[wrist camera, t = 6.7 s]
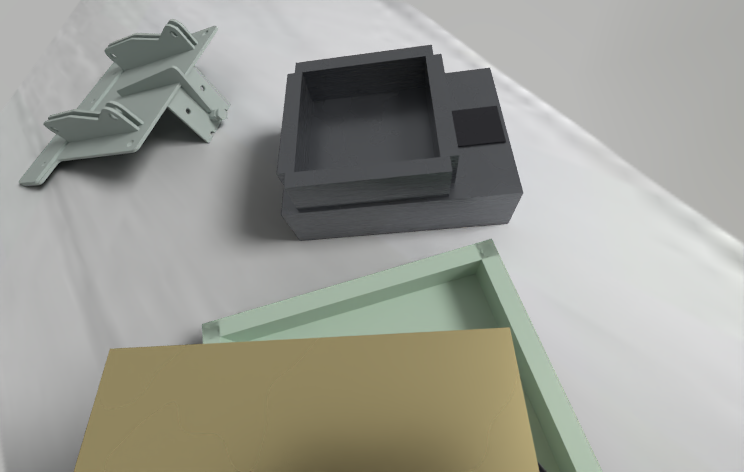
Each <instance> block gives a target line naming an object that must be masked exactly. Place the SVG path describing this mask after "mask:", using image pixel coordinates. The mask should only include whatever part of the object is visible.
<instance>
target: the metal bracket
mask: <svg viewBox="0 0 744 472" xmlns="http://www.w3.org/2000/svg"><path fill="white" fill-rule="evenodd" d="M177 27H178V28H179V29H180V30H179V29H178V28H177ZM217 30H218V28H217V27H216V26H213V27H210V28H207V29H204V30H201V31H198V32H195V33H193V34H191V33H190V32H189V31H188V30H187V29H186V28H185V26H184V25H183V24H182V23H180V22H179V21H177V20H174V19H171V20H169V22H168V23H167V25H166V26H165V27H164V29H163V31H162V33H161V34H149V33H135V34H133V35H130V36H128V37H125V38H122V39H120V40H117V41H115V42H112V43H110V44H109V45H108V47H107V48H106V49H105V53H106V55H107V56H108V57H109V58H110V59H111V60H112V61H114V63H113V64H112V65H111V67H110V68H109V69H108V70H107V72H106V73H105V74H104V75H103V77H102V78H101V79H100V80H99V82H98V83H97V84H96V85H95V87H94V88H93V89H92V90H91V92H90V93H89V94H88V95H87V96H86V98H85V99H84V100H83V101H82V103H81V104H80V105H79V106H78V108H77V109H74V110H70V111H66V112H62V113H58V114H54V115H50V116H49V117H48V119H49V120H47V121H45V122H44V125H45V127H47V128H48V129H49V130H51V131H52V132H54V133H56V135H55V136H54V138H53V139H52V140H51V141H50V143H49V144H48V145H47V146H46V148H45V149H44V150H43V151H42V153H41V154H40V155H39V156H38V158H37V159H36V160H35V161H34V163H33V164H32V165H31V166H30V168H29V169H28V170H27V171H26V173H25V174H24V175H23V176H22V178H21V179H20V180H19V183H20V184H21V185H23V186H33V185H41V184H42V183H43V182H44V181H45V180H46V179H47V177H48V176H49V175H50V173H51V172H52V171H53V169H54V168H55V167H56V166H57V164H58V163H60V162H61V161H67V160H76V159H84V158H93V157H101V156H110V155H118V154H126V153H134V152H136V151H137V150H138V149H139V148H140V147H141V145H142V144H143V142H144V141H145V139H146V138H147V136H148V135H149V133H150V132H151V130H152V129H153V127H154V126H155V124H156V123H157V121H158V120H159V118H160V117H161V115H162V114H163V112H164V111H165V109H166V108H168V109H169V110H170V111H172V112H173V113H174V114H175V115H176V116H177V117H178V118H179V119H181V120H182V121H183V122H184V123H185V124H186V125H187V126H188V127H190V128H191V129H192V130H193V131H194V132H195V133H196V134H197V135H199V136H200V137H201V138H202V139H203V140H204V141H205V142H206V143H210V141H211V139H212V137H213V136H211V132H213V133H215V132H216V130H217V128H218V127H219V125H220V123H221V121H222V120H224V119H227V110H228V109H229V107H230V104H229V103H228V102H227V101H226V100H225V99H224V97H223V96H222V95H221V94H220V93H219V92H218V91H217V90H216V89H215V88H214V87H213V86H212V84H211V83H210V82H209V81H208V80H207V79H206V78H205V77H204V76H203V75H202V74H201V73H200V72H199V70H198V69H197V68H196V67H195V66H194V65H195V64H196V62H197V61H198V59H199V58H200V56H201V55H202V53H203V52H204V50H205V49H206V47H207V46H208V44H209V43H210V41H211V40H212V38H213V37H214V35H215V33H216V32H217ZM112 54H114V55H115V56H116V57H115V56H113V55H112ZM200 86H202V87H203V91H202V90H201V88H200ZM186 109H188V110H189V114H187V112H186Z"/></svg>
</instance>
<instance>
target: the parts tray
mask: <svg viewBox="0 0 744 472" xmlns="http://www.w3.org/2000/svg"><path fill="white" fill-rule="evenodd" d="M507 327H510V330H511V335H512V340H513V345H514V350H515V355H516V360H517V364H518V369H519V374H520V379H521V384H522V389H523V394H524V399H525V404H526V408H527V413H528V418H529V423H530V428H531V433H532V438H533V443H534V448H535V452H536V457H537V461H538V462H539V463H540V464H541V465H542V467H543V468H544V469H545V470H546V471H547V472H602V469H601V467H600V465H599V463H598V461H597V459H596V457H595V455H594V453H593V451H592V448H591V446H590V444H589V442H588V440H587V438H586V436H585V434H584V432H583V430H582V427H581V425H580V423H579V421H578V419H577V417H576V415H575V413H574V411H573V409H572V407H571V404H570V402H569V400H568V398H567V396H566V394H565V392H564V390H563V388H562V386H561V383H560V381H559V379H558V377H557V375H556V373H555V371H554V369H553V367H552V365H551V362H550V360H549V358H548V356H547V354H546V352H545V350H544V348H543V346H542V344H541V341H540V339H539V337H538V335H537V333H536V331H535V329H534V327H533V325H532V323H531V320H530V318H529V316H528V314H527V312H526V310H525V308H524V306H523V304H522V302H521V300H520V297H519V295H518V293H517V291H516V289H515V287H514V285H513V283H512V281H511V279H510V276H509V274H508V272H507V270H506V268H505V266H504V264H503V262H502V260H501V258H500V255H499V253H498V251H497V249H496V247H495V245H494V243H493V241H492V239H489V240H486V241H483V242H479V243H476V244H472V245H469V246H466V247H462V248H459V249H456V250H452V251H449V252H445V253H442V254H439V255H435V256H432V257H428V258H425V259H422V260H418V261H415V262H411V263H408V264H405V265H401V266H398V267H394V268H391V269H388V270H384V271H381V272H377V273H374V274H371V275H367V276H364V277H361V278H357V279H354V280H350V281H347V282H344V283H340V284H337V285H333V286H330V287H327V288H323V289H320V290H316V291H313V292H310V293H306V294H303V295H299V296H296V297H293V298H289V299H286V300H282V301H279V302H276V303H272V304H269V305H265V306H262V307H259V308H255V309H252V310H249V311H245V312H242V313H238V314H235V315H232V316H228V317H225V318H221V319H218V320H215V321H211V322H208V323H204V324H202V336H203V344H210V343H228V342H247V341H266V340H284V339H303V338H321V337H340V336H358V335H377V334H396V333H414V332H433V331H451V330H470V329H488V328H507Z"/></svg>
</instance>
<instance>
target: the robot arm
mask: <svg viewBox="0 0 744 472" xmlns="http://www.w3.org/2000/svg"><path fill="white" fill-rule="evenodd" d="M537 462H538V461H537ZM538 467H539V472H547V471H546V470H545V469H544V468H543V467H542V465H541V464H540V463H539V462H538Z"/></svg>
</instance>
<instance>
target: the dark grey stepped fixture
mask: <svg viewBox="0 0 744 472" xmlns="http://www.w3.org/2000/svg"><path fill="white" fill-rule="evenodd" d="M277 175H278V177H279V178H280V180H281V182H282V183H283V185H284V190H283V201H282V211H281V215H282V217H283V218H284V219H285V221H286V222H287V224H288V225H289V226H290V228H291V229H292V230H293V232H294V233H295V235H296V236H297V237H298V239H299V240H300V241H302V240H314V239H326V238H338V237H350V236H362V235H374V234H386V233H398V232H410V231H421V230H433V229H445V228H457V227H469V226H481V225H493V224H505V223H509V221H510V219H511V217H512V215H513V213H514V211H515V209H516V207H517V204H518V202H519V200H520V198H521V196H522V194H523V190H522V186H521V183H520V179H519V175H518V171H517V167H516V164H515V160H514V156H513V152H512V149H511V145H510V141H509V137H508V134H507V130H506V126H505V122H504V119H503V115H502V111H501V107H500V104H499V100H498V96H497V92H496V88H495V85H494V81H493V77H492V73H491V70H490V68H484V69H476V70H468V71H460V72H452V73H445V72H444V66H443V61H442V55H441V54H437V55H433V50H432V45H426V46H419V47H411V48H404V49H397V50H389V51H382V52H374V53H367V54H359V55H352V56H344V57H337V58H330V59H322V60H315V61H307V62H300V63H296V67H295V73H293V74H288V75H287V84H286V94H285V103H284V112H283V121H282V130H281V139H280V149H279V158H278V167H277Z"/></svg>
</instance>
